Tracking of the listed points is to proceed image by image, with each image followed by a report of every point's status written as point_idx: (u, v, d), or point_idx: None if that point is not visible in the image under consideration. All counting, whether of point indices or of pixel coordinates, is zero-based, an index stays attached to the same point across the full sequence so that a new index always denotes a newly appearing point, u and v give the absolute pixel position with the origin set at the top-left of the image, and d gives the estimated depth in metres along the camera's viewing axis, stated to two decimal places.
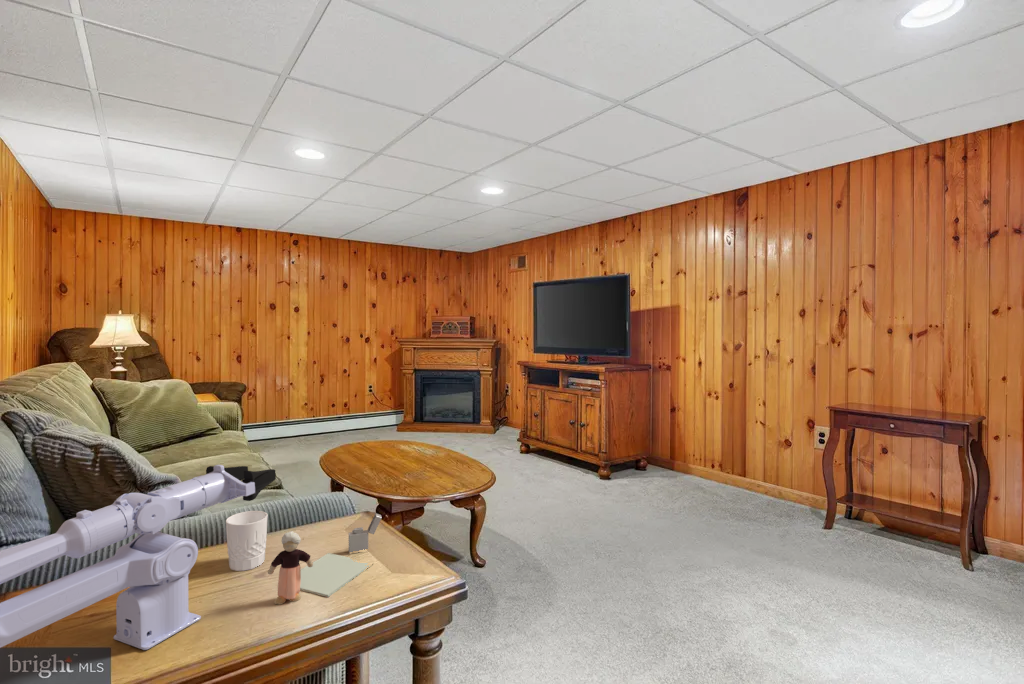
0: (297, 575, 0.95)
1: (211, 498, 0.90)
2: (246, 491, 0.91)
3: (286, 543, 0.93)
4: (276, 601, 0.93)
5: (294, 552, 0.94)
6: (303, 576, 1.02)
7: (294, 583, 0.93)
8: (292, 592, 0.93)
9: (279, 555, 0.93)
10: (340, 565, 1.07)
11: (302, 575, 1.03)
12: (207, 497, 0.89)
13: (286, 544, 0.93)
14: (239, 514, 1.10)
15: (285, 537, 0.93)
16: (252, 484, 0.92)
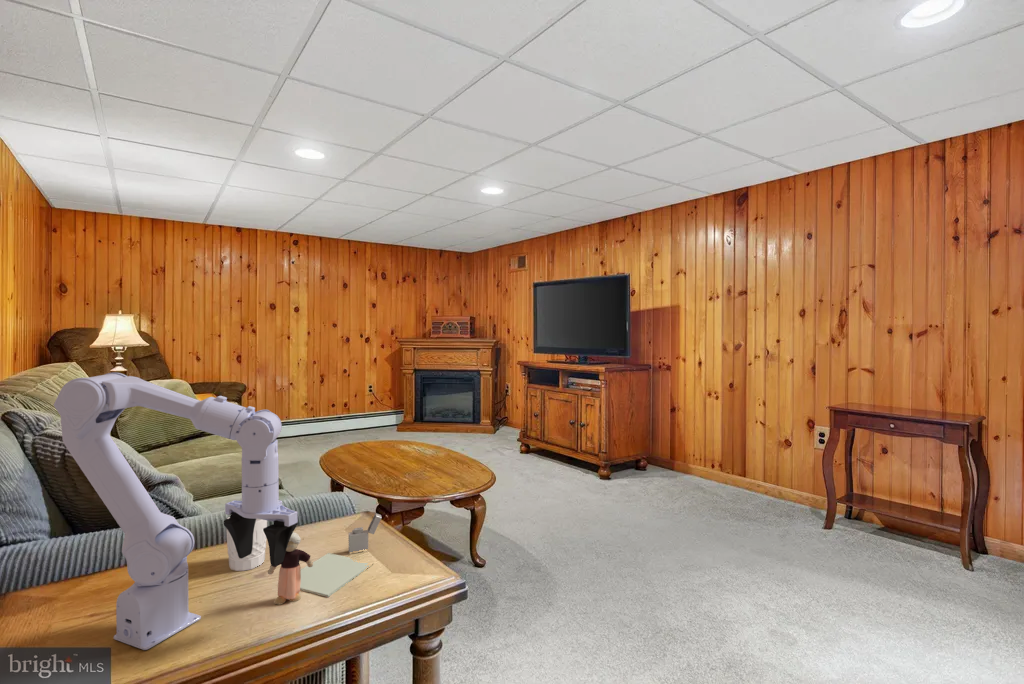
0: (297, 575, 0.95)
1: (269, 491, 0.86)
2: (292, 514, 0.85)
3: None
4: (276, 601, 0.93)
5: (294, 552, 0.94)
6: (303, 576, 1.02)
7: (294, 583, 0.93)
8: (292, 592, 0.93)
9: None
10: (340, 565, 1.07)
11: (302, 575, 1.03)
12: (271, 486, 0.86)
13: None
14: None
15: None
16: (296, 519, 0.86)
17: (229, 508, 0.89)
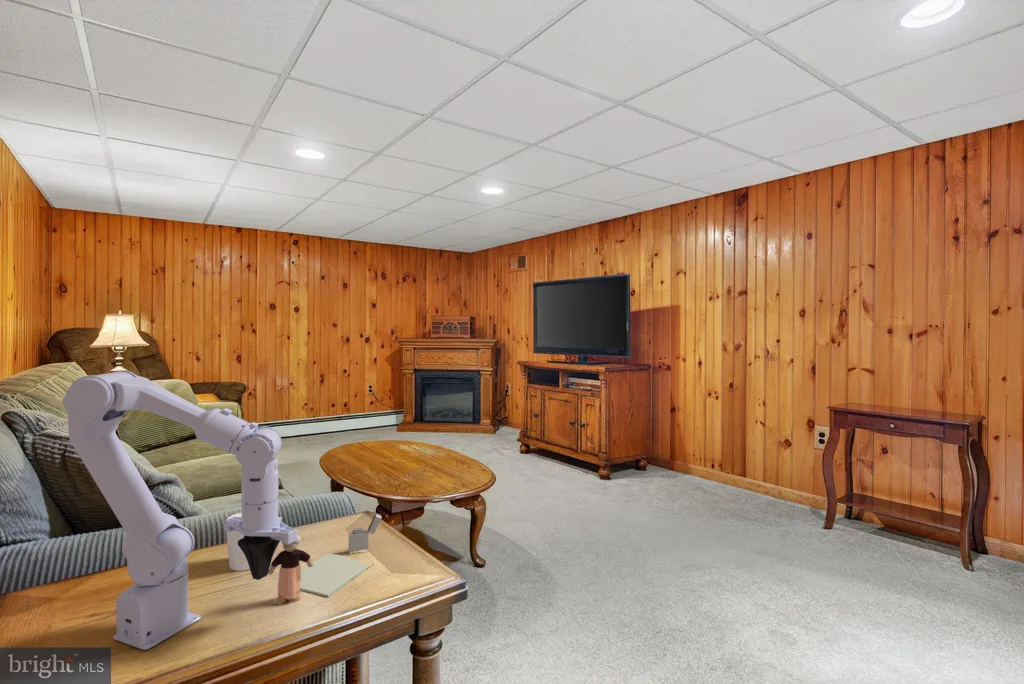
0: (297, 575, 0.95)
1: (268, 508, 0.86)
2: (291, 532, 0.85)
3: None
4: (276, 601, 0.93)
5: (294, 552, 0.94)
6: (303, 576, 1.02)
7: (294, 583, 0.93)
8: (292, 592, 0.93)
9: (279, 555, 0.93)
10: (340, 565, 1.07)
11: (302, 575, 1.03)
12: (271, 503, 0.86)
13: (286, 544, 0.93)
14: (239, 514, 1.10)
15: None
16: (296, 537, 0.86)
17: (229, 525, 0.89)
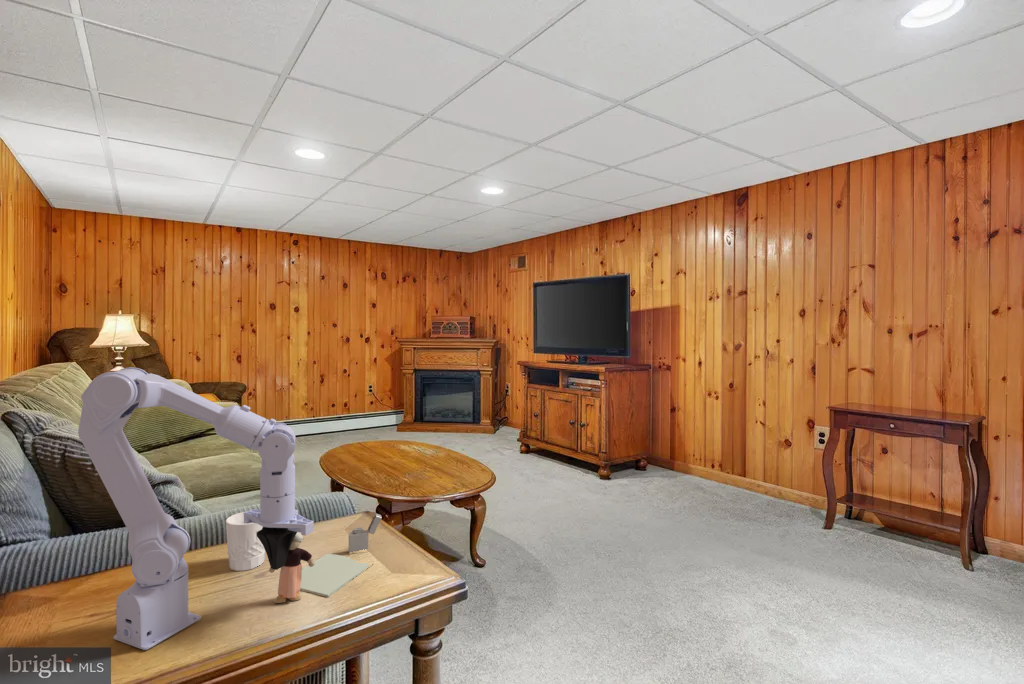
0: (298, 574, 0.95)
1: (286, 501, 0.89)
2: (308, 523, 0.88)
3: None
4: (276, 600, 0.93)
5: (296, 551, 0.95)
6: (303, 576, 1.02)
7: (295, 582, 0.94)
8: (292, 590, 0.93)
9: None
10: (340, 565, 1.07)
11: (302, 575, 1.03)
12: (288, 496, 0.90)
13: None
14: (239, 514, 1.10)
15: None
16: (312, 529, 0.89)
17: (247, 517, 0.92)
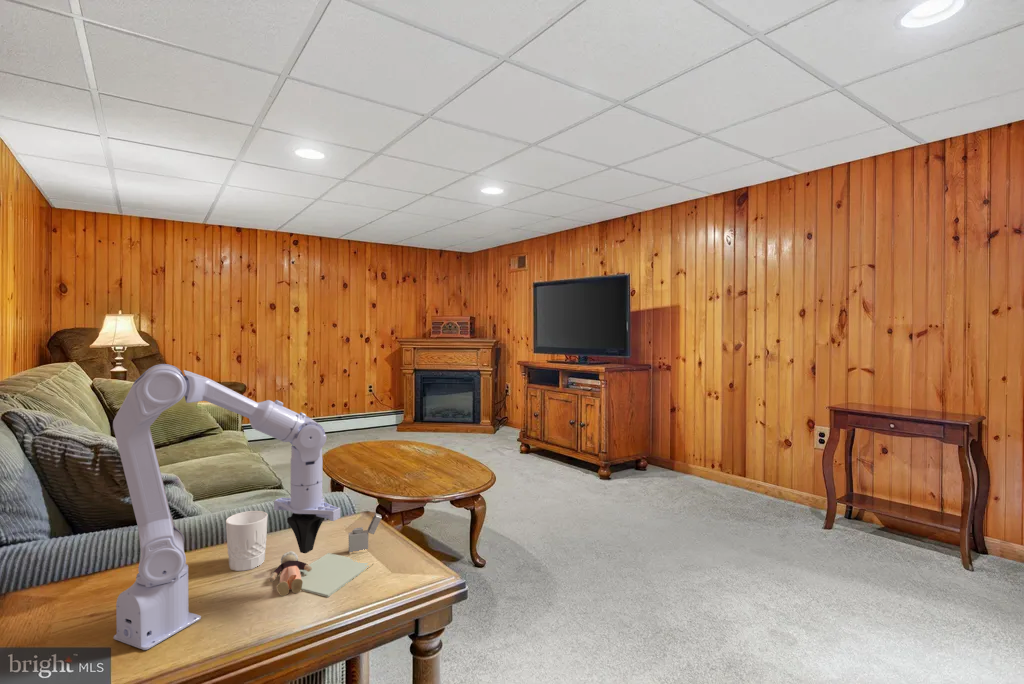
0: (297, 572, 1.01)
1: (315, 489, 0.96)
2: (336, 510, 0.95)
3: (285, 556, 1.05)
4: None
5: None
6: (303, 576, 1.02)
7: (294, 569, 0.99)
8: (293, 572, 0.98)
9: None
10: (340, 565, 1.07)
11: (302, 575, 1.03)
12: (317, 485, 0.96)
13: (285, 556, 1.05)
14: (239, 514, 1.10)
15: (284, 554, 1.06)
16: (339, 515, 0.96)
17: (278, 504, 0.99)
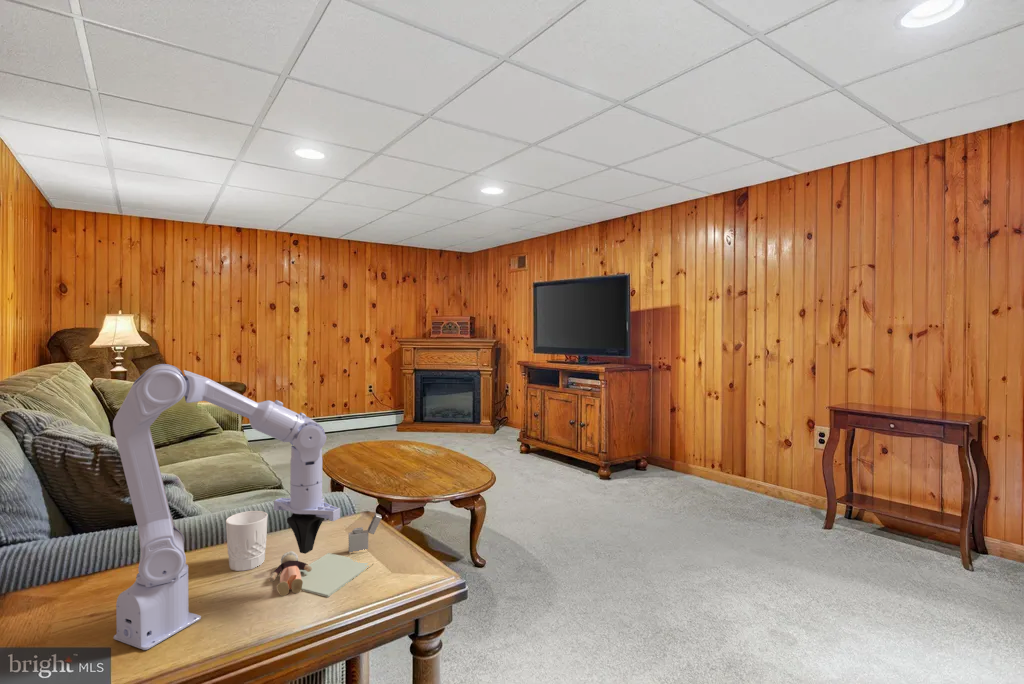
0: (297, 572, 1.01)
1: (315, 489, 0.96)
2: (335, 510, 0.95)
3: (285, 556, 1.06)
4: (279, 583, 0.95)
5: None
6: (303, 576, 1.02)
7: (295, 569, 0.99)
8: (293, 572, 0.98)
9: None
10: (340, 565, 1.07)
11: (302, 575, 1.03)
12: (317, 485, 0.96)
13: (285, 556, 1.05)
14: (239, 514, 1.10)
15: (284, 554, 1.06)
16: (339, 515, 0.96)
17: (277, 505, 0.99)
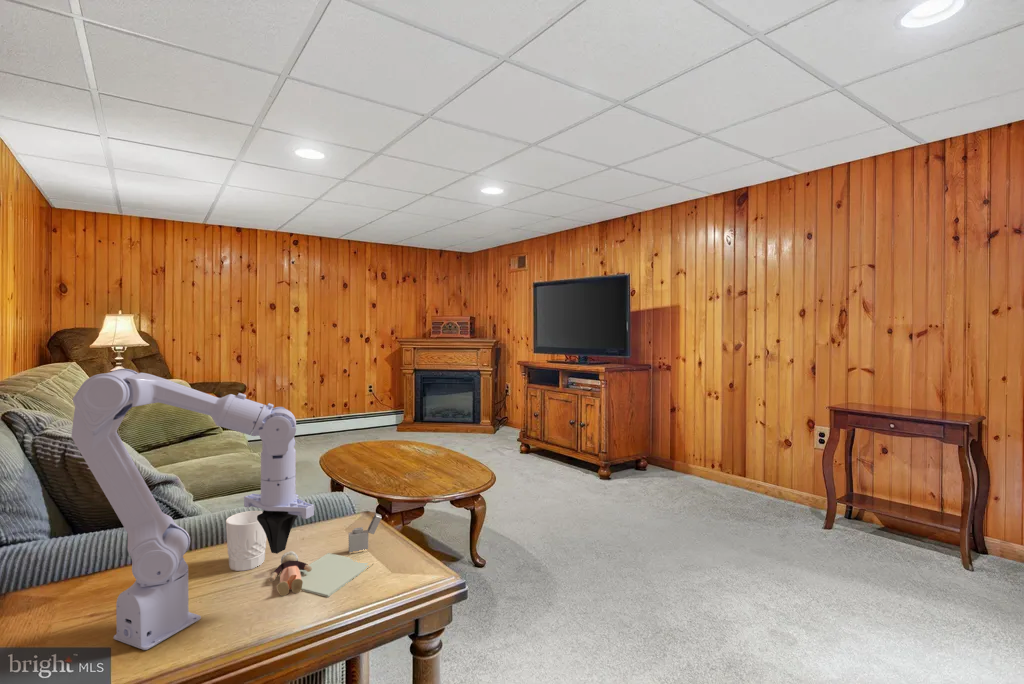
0: (297, 572, 1.01)
1: (287, 484, 0.89)
2: (309, 507, 0.89)
3: (285, 556, 1.06)
4: None
5: None
6: (303, 576, 1.02)
7: (295, 569, 0.99)
8: (293, 572, 0.98)
9: None
10: (340, 565, 1.07)
11: (302, 575, 1.03)
12: (289, 480, 0.90)
13: (285, 556, 1.05)
14: (239, 514, 1.10)
15: (284, 554, 1.06)
16: (313, 512, 0.89)
17: (248, 501, 0.92)
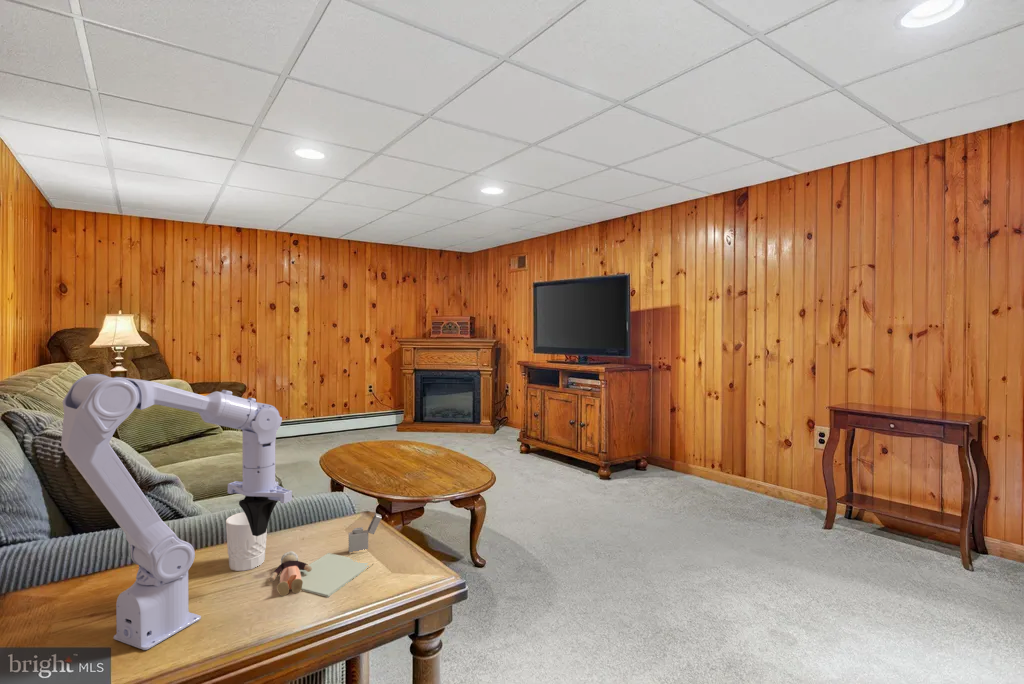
0: (297, 572, 1.01)
1: (266, 472, 0.96)
2: (287, 493, 0.95)
3: (285, 556, 1.06)
4: (279, 583, 0.95)
5: None
6: (303, 576, 1.02)
7: (295, 569, 0.99)
8: (293, 572, 0.98)
9: None
10: (340, 565, 1.07)
11: (302, 575, 1.03)
12: (269, 467, 0.97)
13: (285, 556, 1.05)
14: (239, 514, 1.10)
15: (284, 554, 1.06)
16: (291, 498, 0.96)
17: (231, 488, 0.99)
